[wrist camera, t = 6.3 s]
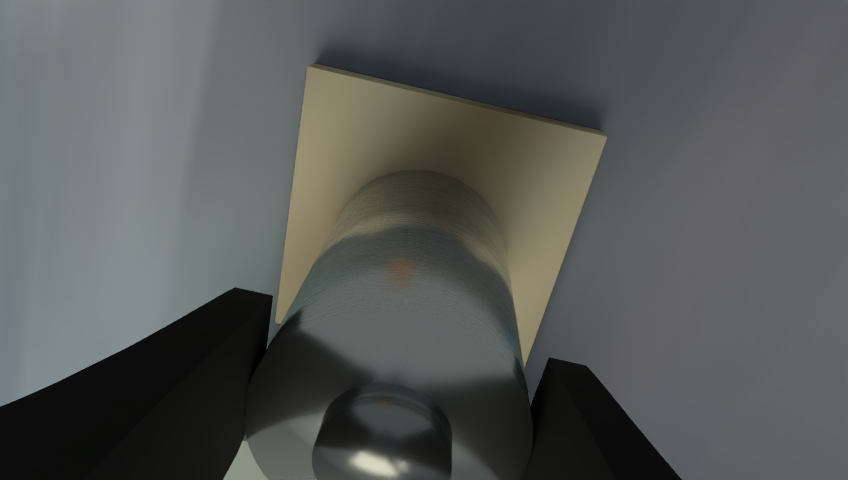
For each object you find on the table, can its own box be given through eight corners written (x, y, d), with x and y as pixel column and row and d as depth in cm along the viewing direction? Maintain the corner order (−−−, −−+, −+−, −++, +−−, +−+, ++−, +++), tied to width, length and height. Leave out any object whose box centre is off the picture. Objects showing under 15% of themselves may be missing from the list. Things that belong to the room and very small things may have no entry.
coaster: (601, 130, 14) (607, 136, 13) (518, 364, 16) (520, 377, 16) (313, 63, 13) (307, 66, 13) (281, 311, 16) (274, 322, 16)
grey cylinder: (527, 195, 14) (583, 381, 7) (478, 342, 16) (487, 596, 9) (349, 150, 14) (244, 300, 7) (320, 304, 15) (216, 536, 9)
